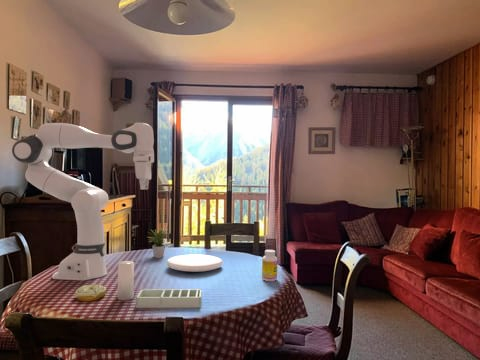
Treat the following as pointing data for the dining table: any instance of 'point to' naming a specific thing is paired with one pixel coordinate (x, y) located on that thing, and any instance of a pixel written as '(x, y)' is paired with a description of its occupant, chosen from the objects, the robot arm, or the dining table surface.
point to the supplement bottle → (269, 266)
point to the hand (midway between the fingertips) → (144, 189)
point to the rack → (169, 298)
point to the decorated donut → (90, 292)
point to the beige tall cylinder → (125, 280)
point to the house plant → (158, 244)
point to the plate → (194, 262)
